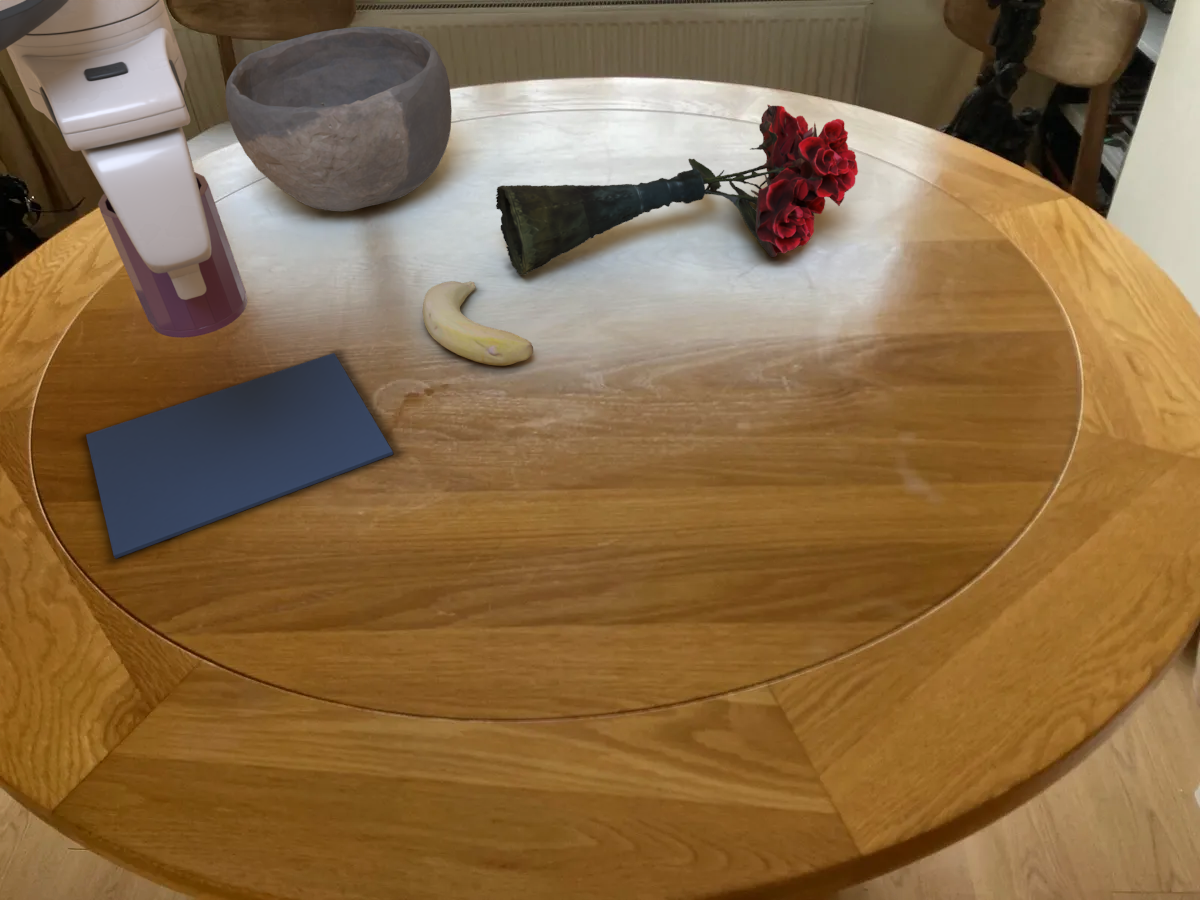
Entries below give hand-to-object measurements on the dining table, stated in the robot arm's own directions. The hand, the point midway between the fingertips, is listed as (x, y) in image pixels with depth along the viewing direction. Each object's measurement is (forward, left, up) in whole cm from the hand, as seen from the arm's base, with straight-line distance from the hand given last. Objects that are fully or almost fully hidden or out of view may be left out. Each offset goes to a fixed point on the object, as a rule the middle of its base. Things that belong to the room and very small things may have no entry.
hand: (181, 265), depth 65 cm
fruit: (+23, +8, -20) cm, 31 cm away
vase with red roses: (+47, +11, -20) cm, 52 cm away
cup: (0, 0, -4) cm, 4 cm away
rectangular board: (-1, +4, -19) cm, 20 cm away
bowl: (+23, +43, -20) cm, 53 cm away
